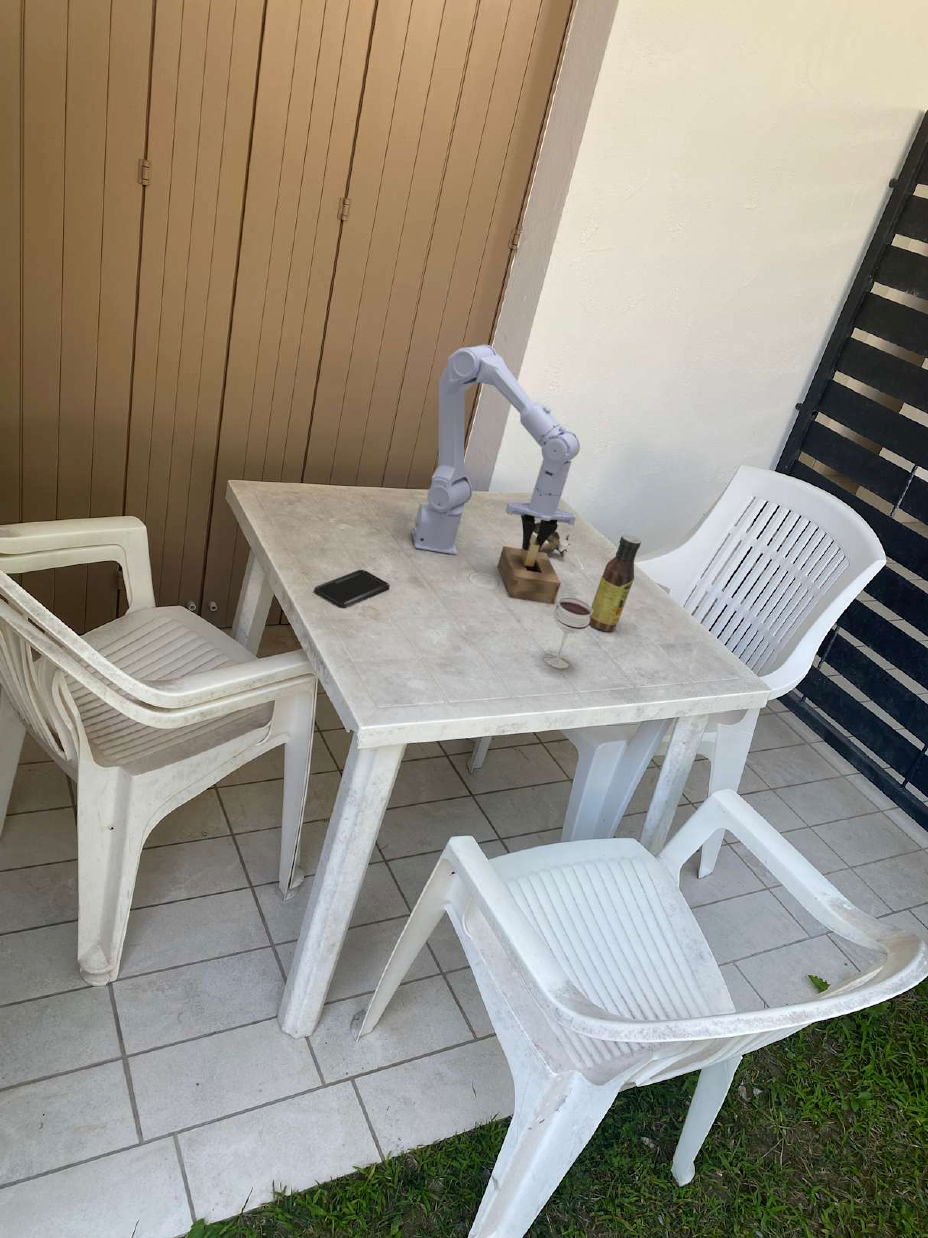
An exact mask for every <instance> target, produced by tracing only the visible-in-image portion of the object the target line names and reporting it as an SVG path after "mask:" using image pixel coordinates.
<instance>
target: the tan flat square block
mask: <svg viewBox="0 0 928 1238" xmlns="http://www.w3.org/2000/svg"><path fill="white" fill-rule="evenodd" d="M536 537H537V535H535V534H532V536H531V539H530V543H529V546H528V549H527V550H524V549H523V547H522V546H521V548H520V549H521V552H520V556H521V559H522V561H523V563H524V565H526V566H532V567H533V566H534V563H535V559H536V556H537V553H538V550H539V547H540V545H539V543H538V541H537V539H536Z"/></svg>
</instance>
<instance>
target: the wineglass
mask: <svg viewBox="0 0 928 1238" xmlns="http://www.w3.org/2000/svg"><path fill="white" fill-rule="evenodd" d="M557 604H558V605H556V607H555V608H554V611H553V619H554V622H555V623H556V625H557V627H558V628H559V629H560V630H561V631H562V632H563V635H562V639H561V642H560V645H559V648H558V652H557V653H547V654H545V655H544V656H543V660H544V661H545V663H546V664H548V665H550V666H552V667H554V668H557V669H566V668H568V667H569V666H570V662H569V661H568V659H567V658H565V657H564V656H562V655H561V653H562V650H563V649H564V645H565V643H566V641H567V638H568V635H571V634H577V633H579V632H582V631H584V630H585V629H586V628H587V627H588V626H589V625H590V623H589V622H590V615H591V614H592V613H593V610H592V608H591V605H590V604H588V603H587V602H585V601H583V600H581V599H578V598H575V597H570V596H563V597H560V598H559V599H558V601H557Z"/></svg>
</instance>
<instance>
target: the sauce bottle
mask: <svg viewBox="0 0 928 1238" xmlns="http://www.w3.org/2000/svg"><path fill="white" fill-rule="evenodd" d="M641 543H642V541H641V540H640V539H639V538H638V537H636V536H634V535H631V534H622V535H621V537H620V539H619V546H618V548H617V551H616V552H615V557H613V558H612V559H611V560H610V561H608V562H607V564H606V566H605V568H604V571H603V574H602V576H601V578H600V581H599V584H598V587H597V590H596V592H595V595H594V599H593V601H592V603H591V605H590V607H591V608H592V610H593V613H592V614H591V615H590V622H589V625H590V626H591V627H593V628H595V629H597V630H600V631H604V632H610V631H613V630H615V629H616V627H617V624H618V623H619V621H620V618H621V616H622V613H623V611H624V607H625V605H626V602H627V599H628V597H629V594H630V590H631V588H632V585H633V583H634V580H635V559H636V555H637V553H638V550H639V549H640V547H641Z"/></svg>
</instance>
